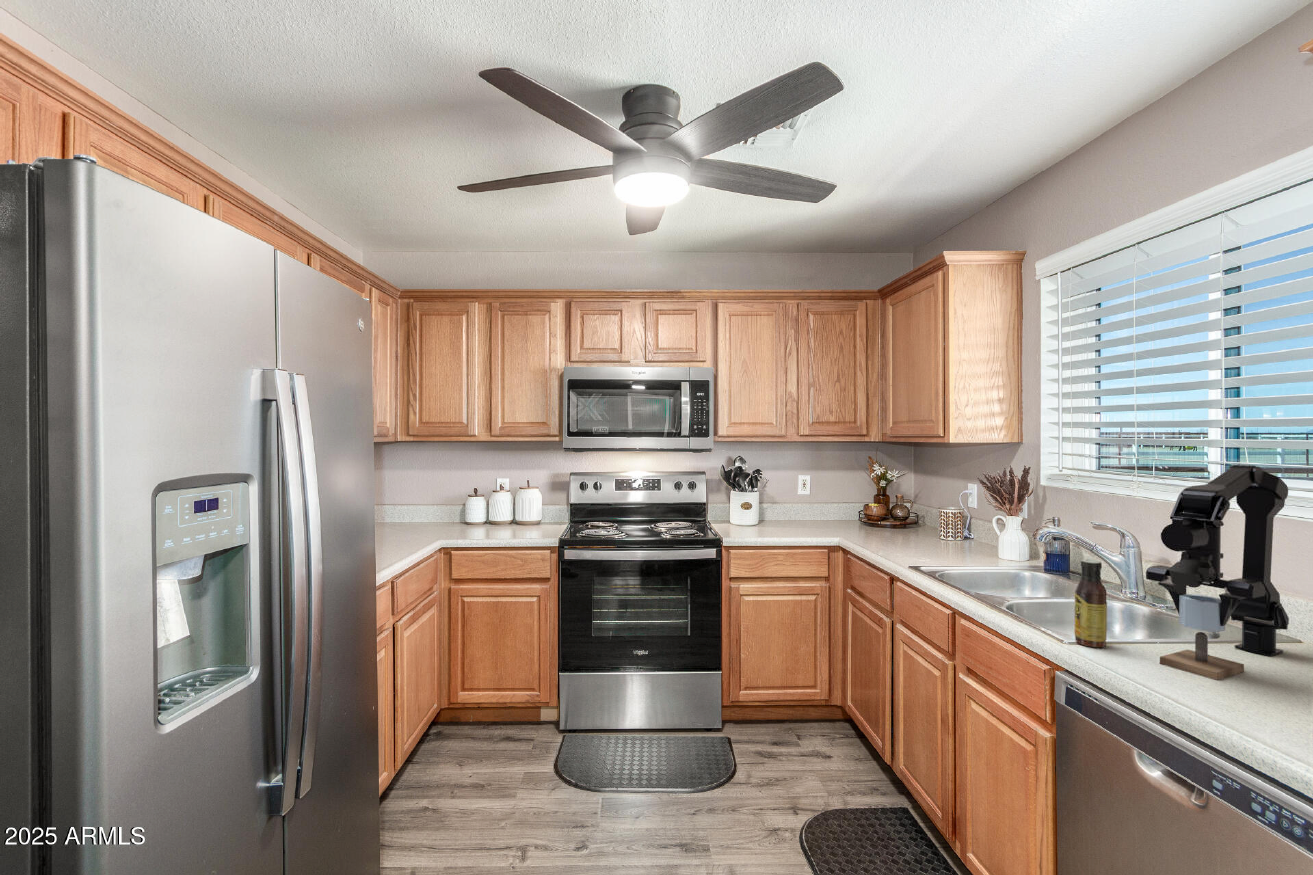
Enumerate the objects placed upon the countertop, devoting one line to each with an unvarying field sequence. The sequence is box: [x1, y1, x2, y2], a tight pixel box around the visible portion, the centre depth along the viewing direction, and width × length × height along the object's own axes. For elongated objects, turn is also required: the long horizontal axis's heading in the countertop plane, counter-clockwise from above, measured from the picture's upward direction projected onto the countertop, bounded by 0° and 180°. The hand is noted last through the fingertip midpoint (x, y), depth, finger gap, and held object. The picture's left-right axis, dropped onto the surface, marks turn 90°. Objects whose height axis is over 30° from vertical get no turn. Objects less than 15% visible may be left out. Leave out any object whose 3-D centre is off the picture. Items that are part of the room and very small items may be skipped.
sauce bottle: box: [1074, 558, 1108, 649], centre depth 149 cm, size 7×6×20 cm
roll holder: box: [1159, 631, 1245, 681], centre depth 134 cm, size 11×10×8 cm
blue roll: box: [1178, 593, 1226, 633], centre depth 134 cm, size 7×7×6 cm
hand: (1201, 621), depth 134 cm, fingers closed on blue roll, 7 cm apart
